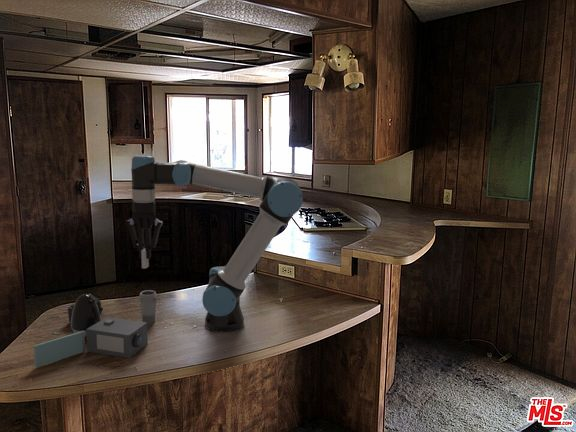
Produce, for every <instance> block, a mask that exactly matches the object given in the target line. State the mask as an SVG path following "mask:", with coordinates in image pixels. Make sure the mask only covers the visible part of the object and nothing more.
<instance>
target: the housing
mask: <svg viewBox="0 0 576 432" xmlns="http://www.w3.org/2000/svg"><path fill="white" fill-rule="evenodd" d="M86 332H87V337H86V346H87V347H86V349H87V352H88V353H94V354H100V355H106V356H107V355H108V356H112V357H119V358H125V359H131V358H132V357H133V356H135V355H136V354H138V352H140V351H141V350H142V349H144V348H145V347H146V346H147V345H148V344H149V342H148V324H147V323H146V322H143V321H139V320H138V321H137V320H131V319H124V318H117V317H110V316H107V317H104V318H103V319H101V321H99V322H98V323H96V324H94V325H92V326H91V327H89V328H87V329H86Z"/></svg>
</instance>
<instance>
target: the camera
mask: <svg viewBox="0 0 576 432" xmlns="http://www.w3.org/2000/svg"><path fill="white" fill-rule="evenodd" d="M88 294H89V295H91V296H92V297H93V298H94V299H95V302H96V304H97V306H98V309H99V312H100V316H102V312H103V310H104V308H103V307H102V301H101V300H100V299H99V298H97V297H96V296H95V295H93V294H91V293H88ZM74 305H75V303H73V304H70V306H69V307H68V308H67V312H68V321H69V324H70V325H71V317H72V312H73V308H74Z"/></svg>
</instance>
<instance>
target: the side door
mask: <svg viewBox="0 0 576 432" xmlns="http://www.w3.org/2000/svg"><path fill="white" fill-rule="evenodd" d="M84 352H86V337H85V331H81V332H78V333H74V332H73V333H72V334H68V335H65V336H61V337H59V338H58V337H57V338H54V339H51V340H48V341H44V342H41V343H38V344H35V345H33V354H34V356H33V357H34V367H35V368H38V367H42V366H45V365H49V364H51V363H54V362H57V361H59V360H63V359H66V358H69V357H72V356H75V355H78V354H81V353H84Z"/></svg>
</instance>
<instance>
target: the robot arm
mask: <svg viewBox="0 0 576 432" xmlns="http://www.w3.org/2000/svg"><path fill="white" fill-rule="evenodd" d="M130 170H131V188H132V189H131V194H132V195H131V196H132V197H131V200H132V215H131V218H129V219H128V220H125V222H124V223H125V225H126V226H127V227H128V228H127V229H128V232H129V236H130V239H131V243H132V247H133V248H135V249H137V250H138V258H139V259H141V269H147V268H149V267H150V262H149V261H150V259H151V258H152V249H154V248H156V247H157V245H158V240H159V236H160V231H161V228H162V226H163V225H164V221H163V220H160V219H158V216H157V215H156V201H155V200H156V185H170V186H172V185H173V186H187V185H189V184H192V185H196V186H201V187H206V188H211V189H215V190H220V191H221V190H222V191H225V192H230V193H234V194H240V195H244V196H249V197H255V198H259V201H261V203H260V204H259V206H258V207H259V214H258V215H257V217H256V219H255V220H254V222H253V223H252V225H251V226H250V228H249V229H248V231H247V232H246V234H245V236H244V238H243V239H242V240H241V242H240V244H239V245H238V246H237V248H236V249H235V251H234V253H233V254H232V256H231V257H230V259H229V260H228V262H227V264H226V265H224V266H214V267H211V268H210V269H209V274H208V276H209V281H208V284H207V286H206V288H205V290H204V291H203V293H202V300H201V301H202V305H203V308H204V310H206V311H207V312H206V315H205V318H204V326H205V328H206V329H208V330H210V331H213V332H217V333H218V332H219V333H227V332H235V331H238V330H240V329H241V328H243V327H244V325H245V318H244V315H243V311H242V308H241V306H240V305H241V303H240V299H241V295H242V294H243V293H244V291H245V290H246V280H247V278H249V275H250V274H251V273H252V271H253V269H254V267H255V266H256V265H257V263H258V262H259V260H260V259H261V257H262V255H264V252H265V251H266V250H267V248H268V247H269V245H270V243H272V241H273V239H274V237H275V236H276V235H277V233H278V232H279V230H280V228H282V226H287V225H288V224H289V222H290V221H291V220H292V218H293V216H294V215H295V214H297V212H299V210H300V209H301V207H302V205H303V201H304V196H303V191H302V189H301V187H300V185H299V184H298V183H297V181H295V180H293V179H291V178H288V177H277V176H269V175H265V176H264V177H260V176H257V175H251V174H247V173H241V172H237V171H233V170H232V171H231V170H227V169H223V168H217V167H211V166H208V165H202V164H198V163H194V162H193V163H192V162H188V161H186V160H183V159H182V160H181V159H180V160H176V161H173V162H158V161H156V159H155V157H154V156H152V155H135V156H132V158H131V168H130ZM153 225H154V226H155V227H154V230H153V235H152V228H153ZM135 227H136V228H135ZM136 230H137V231H136Z"/></svg>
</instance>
